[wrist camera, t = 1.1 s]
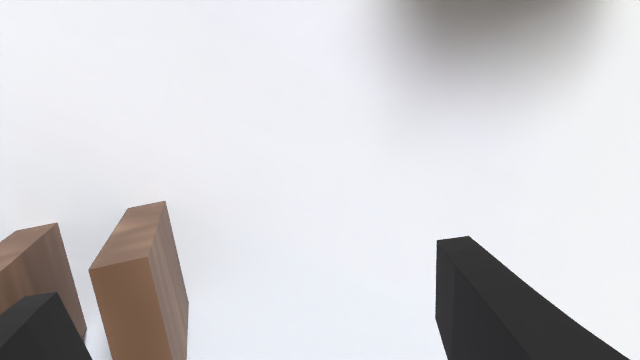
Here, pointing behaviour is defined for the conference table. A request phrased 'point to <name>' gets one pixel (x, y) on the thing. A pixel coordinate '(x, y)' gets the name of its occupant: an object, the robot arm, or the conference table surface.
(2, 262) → the domino
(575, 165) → the conference table surface
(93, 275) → the brown wooden block
